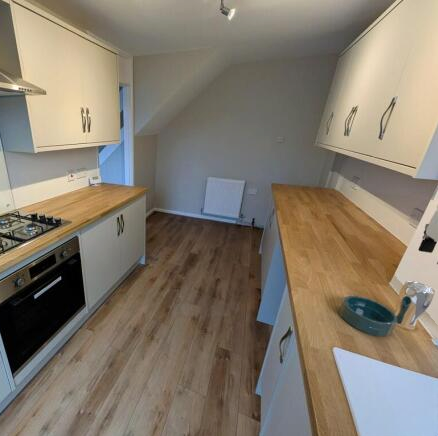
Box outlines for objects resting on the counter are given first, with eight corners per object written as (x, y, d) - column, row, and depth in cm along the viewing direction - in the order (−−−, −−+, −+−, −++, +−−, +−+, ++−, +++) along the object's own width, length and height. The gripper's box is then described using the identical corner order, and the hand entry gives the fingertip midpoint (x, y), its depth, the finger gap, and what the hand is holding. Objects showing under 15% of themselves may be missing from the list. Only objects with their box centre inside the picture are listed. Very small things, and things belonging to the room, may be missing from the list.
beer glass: (389, 312, 86) (405, 278, 81) (417, 324, 82) (436, 287, 76) (387, 322, 82) (403, 285, 77) (416, 334, 77) (435, 296, 72)
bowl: (381, 315, 85) (386, 302, 84) (399, 343, 74) (405, 329, 72) (335, 303, 91) (339, 291, 89) (345, 328, 79) (350, 315, 77)
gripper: (504, 216, 59) (472, 275, 65) (456, 200, 74) (433, 249, 80) (461, 212, 62) (435, 269, 68) (423, 197, 77) (403, 245, 83)
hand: (434, 258), depth 74 cm, fingers open, 9 cm apart
